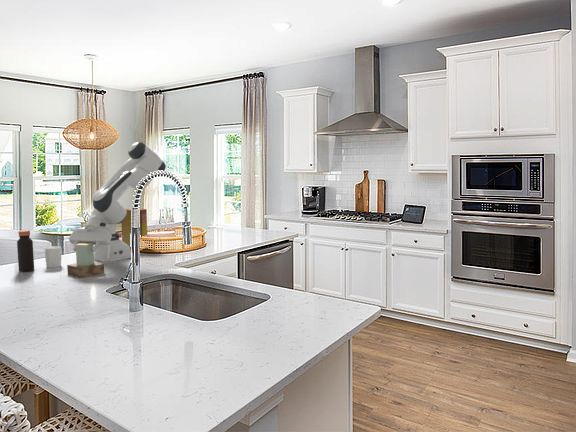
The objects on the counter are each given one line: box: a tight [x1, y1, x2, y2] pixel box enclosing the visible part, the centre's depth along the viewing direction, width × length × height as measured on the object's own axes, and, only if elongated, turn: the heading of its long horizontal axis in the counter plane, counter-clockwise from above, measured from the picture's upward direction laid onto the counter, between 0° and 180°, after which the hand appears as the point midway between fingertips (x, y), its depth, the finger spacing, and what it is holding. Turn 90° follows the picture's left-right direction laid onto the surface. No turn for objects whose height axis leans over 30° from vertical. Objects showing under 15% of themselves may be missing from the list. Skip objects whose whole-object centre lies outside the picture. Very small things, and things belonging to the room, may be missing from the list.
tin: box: [75, 243, 95, 266], centre depth 225 cm, size 6×6×10 cm
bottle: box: [16, 229, 35, 273], centre depth 233 cm, size 7×7×20 cm
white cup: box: [43, 245, 62, 269], centre depth 243 cm, size 8×8×10 cm
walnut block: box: [66, 261, 105, 279], centre depth 226 cm, size 12×12×5 cm
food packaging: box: [121, 208, 148, 251], centre depth 294 cm, size 13×9×25 cm
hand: (84, 250), depth 225 cm, fingers open, 8 cm apart
